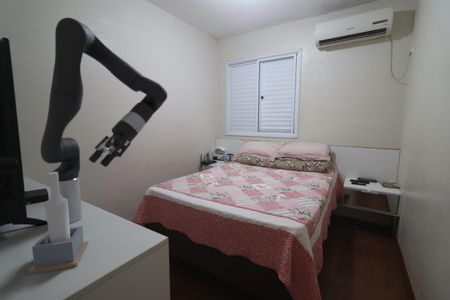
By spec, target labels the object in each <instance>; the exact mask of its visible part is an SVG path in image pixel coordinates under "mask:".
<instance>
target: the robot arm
mask: <svg viewBox="0 0 450 300" xmlns="http://www.w3.org/2000/svg"><path fill="white" fill-rule="evenodd" d="M54 34H55V35H54V36H55V37H54V38H55V39H54V42H55V44H54V45H55V48H54V49H55V50H54V51H55V53H54V54H55V55H54V66H53V70H52V71H53V73H52V80H51V81H52V82H51V87H50V93H49V101H48V102H49V103H48V111H47V118H46V124H45V127H44V131H43V135H42V139H41V144H40V156H41V159H42V160H43V162H45V163H47V164H59V163H60V165H59V166H58V167H57V168H56V169H54V170H52V171H51V172H50V173H52V172H58V178H59V179H58V180H59V189H60V195H62V197H64V198H66V199H68V212H69V224H71V223H75V222H77V221H79V220H80V219H82V218H83V210H82V199H81V190H80V189H81V187H80V174H79V173H80V171H81V151H80V145H79V143H78V141H77V140H76V139H75V138H73V137H63V135H64V132H65V130H66V128H67V127H68V125H69V124H70V123H71V122H72V120H73V119H74V118H75V117H76V116H77V115H78V113H79V112H80V111H81V108H82V104H83V96H84V85H83V84H84V83H83V78H82V72H81V64H82V59H83V54H85V55H87V56H89V57H90V58H92V59H93V60H95V61H96V62H98V63H99V64H101V65H102V66H103V67H104V68H105V69H106V70H107V71H109V73H111V74H112V75H113V76H114V77H115V78H116V79H117V80H118V81H119V82H121V83H122V84H123V85H125V86H127V88H129V89H130V90H132V91H133V92H135V93H138V92H141V93H143V94H144V95H145V96H144V97H143V98H142V99H141V100H140V101H139V102H137V103H136V104H135V105H133V107H132V108H131V109H130V110H129V111H128V112H127V113H126V114H124V115H123V116H122V118H121V119H119V120H118V121H117V123H115V125H114V126H113V127H112V128H111V132H112V135H111V136H108V135H106V136H105V137H103V138H102V139H101V140H100V141H99V143H97V144H96V145H95V147H94V149H95V151H94V152H93V153H92V154H91V156H89V158H88V160H89V161H90V162H91V163H96V162H97V161H98V160H99V159H100V158H101V157H102V155H104V154H105V153H106V152H107V154H106V155H105V156H104V157H103V158H102V160H101V161H100V162H99V164H100V165H101V166H103V167H105V168H106V167H108V166H109V165H110V163H111V162H112V161H113V160H114V159H116V158H117V157H118V158H121V157H122V156H123V155H124V153H125V152H126V150H127V149H128V148H129V147H130V146H131V144H132V142H133V140H134V139H135V138H136V137H137V136H138V134H140V132H141V131H142V130H143V129H144V127H145V125H146V124H147V123H148V122H149V120H151V118H152V117H153V115H154V114H155V113H156V112H157V111H158V110H159V109H160V108H161V107H162V105H164V103H165V102H166V101H167V98H168V92H167V89H166V88H165V87H164V86H163V85H161V84H160V83H159V82H157V81H155V80H154V79H150V78H149V77H146V76H145V75H143V74H142V73H141V72H139V71H138V70H137V68H134V67H133V66H132V65H131V64H129V63H128V62H127V61H125V60H124V59H123V58H121V57H120V56H118V55H117V54H116V53H115V52H114V51H112V50H111V49H110V48H109V47H107V46H106V45H105V44H104V43H103V42H102V40H100V38H98V37H97V35H96V34H95V33H94V32H93V31H92V30H91V29H90V28H89V27H88V26H87V25H85V24H84V23H82V22H80V21H79V20H77V19H75V18H72V17H64V18H62V19H60V20H59V21H58V22H57V23H56V26H55V33H54Z"/></svg>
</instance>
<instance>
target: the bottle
mask: <svg viewBox="0 0 450 300" xmlns="http://www.w3.org/2000/svg"><path fill="white" fill-rule="evenodd" d="M51 172H52V171H51ZM51 172H48V181H49V188H50V196H49V199H47V201H46V202H44V209H45V210H44V211H45V214H46V222H47V228H48V229H47V231H48V230H49V237H50V243H55V242H62V241H69V240H70V228H71V227H70V223H69V212H68V199H66V198H64V197H62V195H60V189H59V180H58V179H59V178H58V172H52V173H51Z"/></svg>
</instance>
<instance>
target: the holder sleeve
mask: <svg viewBox="0 0 450 300" xmlns="http://www.w3.org/2000/svg"><path fill="white" fill-rule="evenodd" d="M88 245H89V241H85V240H84V231H83V226H75V227H74V226H73V227H70V240H69V241H62V242H55V243H50V237H49V230H48V229H47V231H46V232H45V233H44V234H43V235H42V236H41V237H40V238H39V240H37V242H36V243H35V244H34V245H33V246H32V247H31V249H32V256H33V257H32V258H33V264H32V265H31V267H30V268H29V269H28V271H27V273H28V275H33V274H39V273H45V272H51V271H57V270H62V269H68V268H69V269H70V268H73V267H78V264H79V263H80V261H81V259H82V257H83V255H84V253H85V252H86V250H87V247H88Z"/></svg>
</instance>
